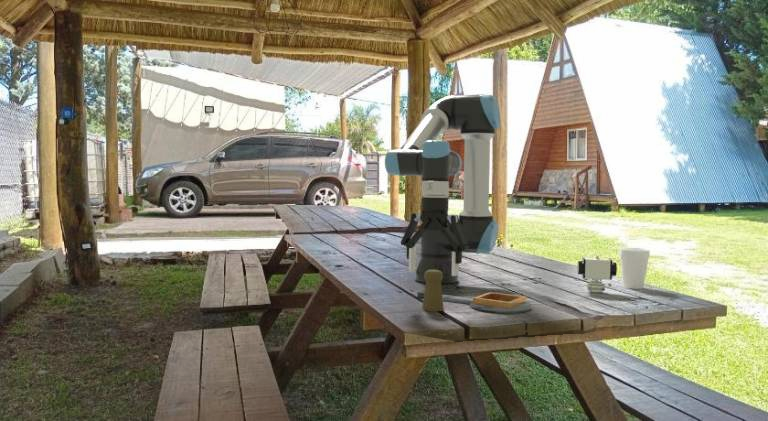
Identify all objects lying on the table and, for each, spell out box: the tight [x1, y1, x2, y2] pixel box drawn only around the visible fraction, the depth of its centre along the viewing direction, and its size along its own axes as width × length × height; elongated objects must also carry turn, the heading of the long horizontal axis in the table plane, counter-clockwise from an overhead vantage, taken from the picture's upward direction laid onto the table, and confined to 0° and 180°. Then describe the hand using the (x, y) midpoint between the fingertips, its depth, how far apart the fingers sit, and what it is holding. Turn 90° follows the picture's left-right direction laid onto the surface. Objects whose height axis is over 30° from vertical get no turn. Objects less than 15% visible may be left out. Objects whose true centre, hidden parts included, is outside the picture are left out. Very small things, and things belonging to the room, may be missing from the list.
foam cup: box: [618, 247, 651, 290], centre depth 214 cm, size 10×9×13 cm
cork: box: [422, 270, 445, 312], centre depth 175 cm, size 6×6×11 cm
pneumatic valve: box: [576, 255, 618, 294], centre depth 205 cm, size 6×12×12 cm, turn 78°
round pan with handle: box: [416, 289, 531, 315], centre depth 184 cm, size 34×17×3 cm, turn 56°
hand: (433, 273), depth 175 cm, fingers open, 13 cm apart
